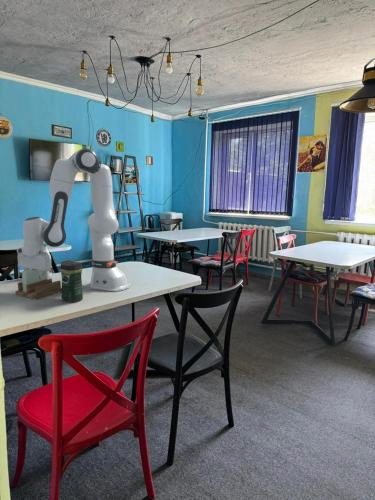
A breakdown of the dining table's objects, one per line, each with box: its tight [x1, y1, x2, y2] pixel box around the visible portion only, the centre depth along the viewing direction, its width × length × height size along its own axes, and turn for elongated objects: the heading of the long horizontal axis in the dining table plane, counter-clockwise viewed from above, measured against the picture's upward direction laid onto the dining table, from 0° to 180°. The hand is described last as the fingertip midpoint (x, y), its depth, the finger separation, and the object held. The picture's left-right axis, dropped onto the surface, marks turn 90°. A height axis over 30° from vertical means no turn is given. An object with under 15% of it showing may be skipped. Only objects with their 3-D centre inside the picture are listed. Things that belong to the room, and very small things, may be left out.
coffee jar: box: [60, 260, 84, 303], centre depth 160 cm, size 10×8×19 cm
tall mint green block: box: [21, 269, 48, 292], centre depth 171 cm, size 3×12×10 cm, turn 152°
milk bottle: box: [43, 242, 53, 279], centre depth 197 cm, size 8×8×20 cm
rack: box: [14, 278, 62, 301], centre depth 170 cm, size 15×16×6 cm
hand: (35, 277), depth 171 cm, fingers open, 8 cm apart
